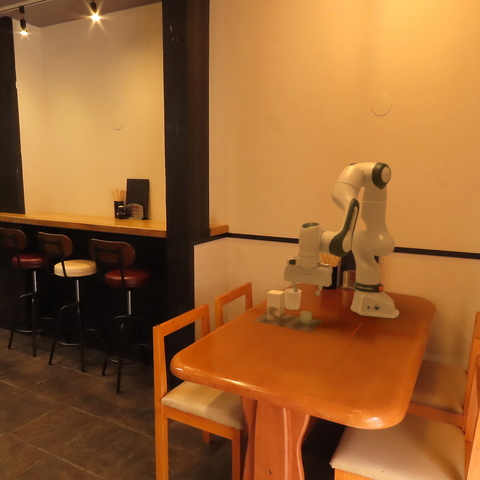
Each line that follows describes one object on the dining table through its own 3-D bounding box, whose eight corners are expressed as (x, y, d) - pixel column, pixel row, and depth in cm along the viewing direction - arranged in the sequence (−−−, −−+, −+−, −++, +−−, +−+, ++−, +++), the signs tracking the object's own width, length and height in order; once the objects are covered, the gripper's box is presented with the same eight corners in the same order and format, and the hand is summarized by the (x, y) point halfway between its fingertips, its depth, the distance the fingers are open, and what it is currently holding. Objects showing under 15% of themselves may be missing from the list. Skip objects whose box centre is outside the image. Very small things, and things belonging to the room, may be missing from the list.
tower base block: (284, 317, 186) (284, 304, 185) (279, 321, 181) (279, 308, 180) (271, 315, 189) (272, 302, 188) (266, 319, 183) (266, 306, 182)
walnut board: (322, 323, 183) (322, 320, 183) (311, 335, 169) (311, 332, 169) (267, 314, 195) (268, 311, 195) (253, 324, 181) (253, 321, 181)
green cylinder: (312, 323, 179) (313, 312, 179) (309, 326, 175) (309, 315, 174) (302, 321, 182) (302, 310, 181) (298, 324, 177) (298, 313, 177)
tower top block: (284, 304, 185) (285, 291, 184) (279, 308, 180) (280, 294, 179) (272, 302, 188) (272, 289, 187) (266, 306, 182) (267, 292, 182)
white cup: (300, 308, 205) (300, 288, 203) (300, 313, 197) (301, 293, 195) (283, 307, 205) (284, 288, 204) (284, 312, 198) (284, 292, 196)
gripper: (334, 263, 172) (332, 295, 174) (288, 257, 182) (286, 288, 183) (330, 265, 167) (328, 299, 169) (283, 259, 176) (281, 291, 178)
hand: (306, 293), depth 176 cm, fingers open, 8 cm apart
